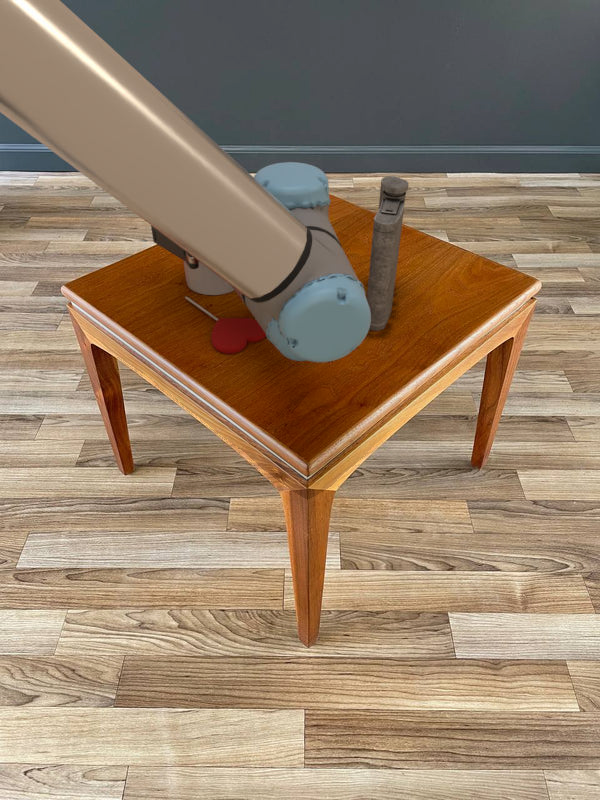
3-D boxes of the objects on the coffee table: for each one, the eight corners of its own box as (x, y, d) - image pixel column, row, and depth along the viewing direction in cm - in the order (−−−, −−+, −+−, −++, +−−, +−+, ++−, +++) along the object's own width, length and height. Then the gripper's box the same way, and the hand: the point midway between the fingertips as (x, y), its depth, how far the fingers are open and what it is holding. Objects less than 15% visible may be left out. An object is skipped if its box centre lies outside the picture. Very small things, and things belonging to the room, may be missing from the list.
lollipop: (162, 310, 91) (227, 359, 83) (161, 305, 90) (226, 354, 82) (208, 290, 95) (274, 334, 87) (208, 284, 94) (274, 329, 86)
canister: (180, 293, 94) (172, 238, 88) (192, 263, 100) (186, 209, 94) (239, 296, 93) (235, 240, 87) (248, 266, 100) (245, 212, 94)
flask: (396, 278, 98) (411, 160, 85) (390, 332, 87) (405, 207, 75) (372, 275, 98) (383, 158, 86) (363, 329, 87) (374, 205, 75)
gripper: (167, 318, 76) (123, 237, 91) (341, 275, 84) (274, 207, 98) (158, 262, 71) (113, 186, 86) (344, 222, 78) (273, 158, 93)
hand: (199, 197), depth 92 cm, fingers open, 11 cm apart
